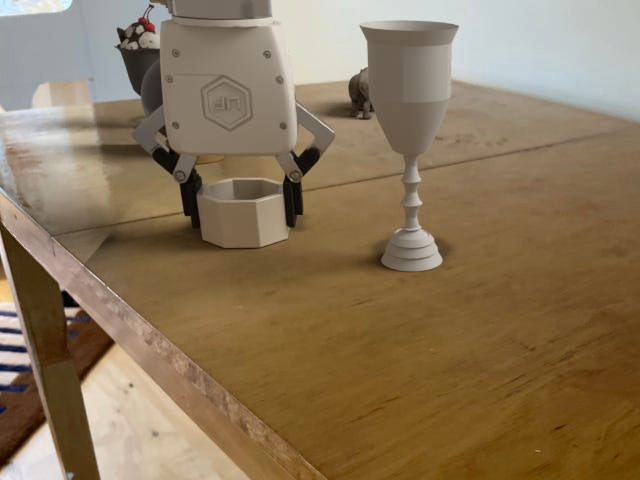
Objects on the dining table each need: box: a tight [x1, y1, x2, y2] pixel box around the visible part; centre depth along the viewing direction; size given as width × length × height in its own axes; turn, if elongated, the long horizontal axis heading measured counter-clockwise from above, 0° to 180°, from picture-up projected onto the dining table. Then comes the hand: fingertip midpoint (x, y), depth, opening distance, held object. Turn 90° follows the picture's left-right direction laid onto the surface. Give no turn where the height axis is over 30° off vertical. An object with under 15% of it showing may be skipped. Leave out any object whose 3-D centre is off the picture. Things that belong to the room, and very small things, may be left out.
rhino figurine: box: [347, 66, 374, 119], centre depth 117 cm, size 4×14×6 cm, turn 0°
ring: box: [196, 177, 291, 249], centre depth 68 cm, size 7×7×4 cm
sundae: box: [113, 3, 160, 128], centre depth 100 cm, size 7×7×15 cm
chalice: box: [358, 19, 460, 272], centre depth 60 cm, size 7×7×18 cm
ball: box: [140, 59, 226, 165], centre depth 88 cm, size 10×10×12 cm
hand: (246, 222), depth 68 cm, fingers closed on ring, 7 cm apart
